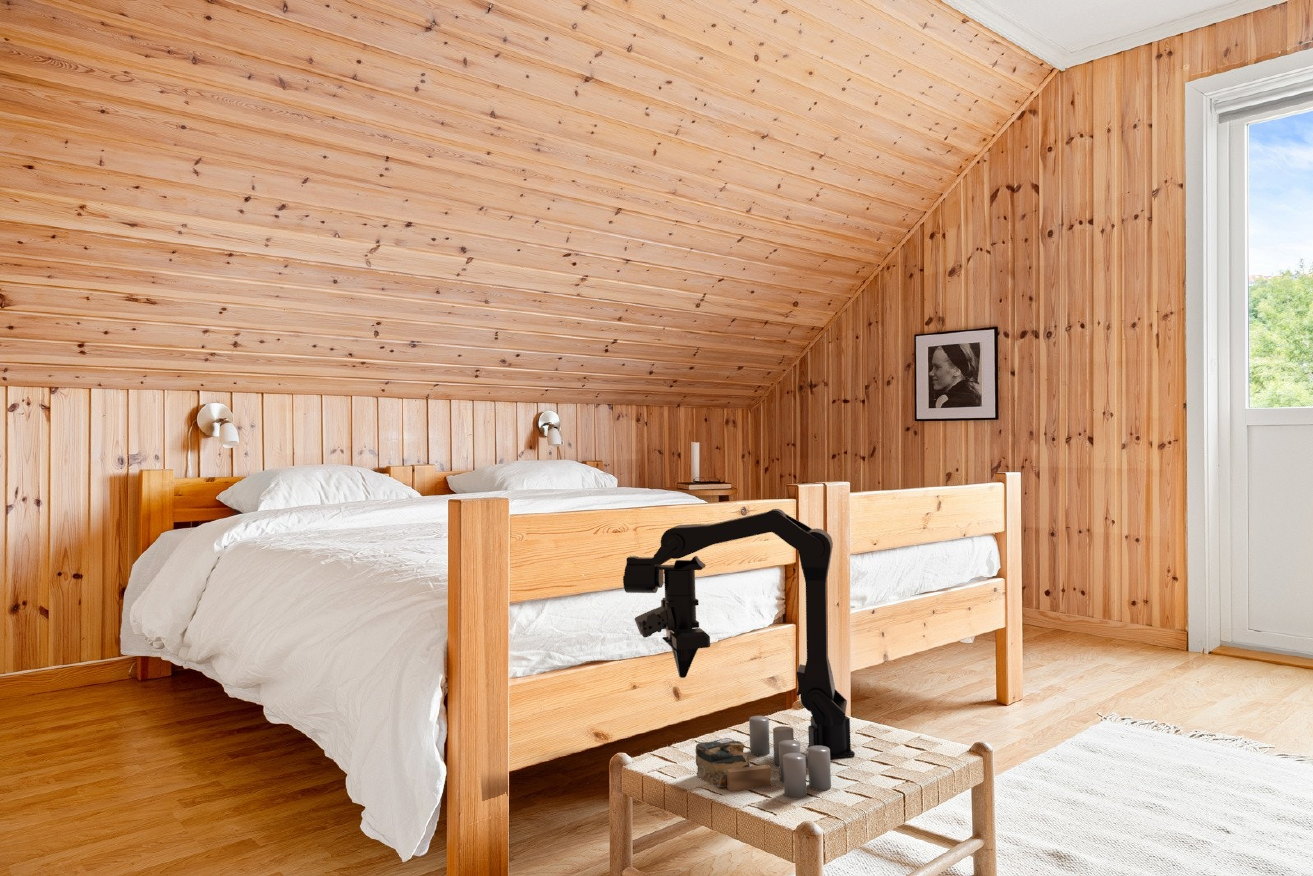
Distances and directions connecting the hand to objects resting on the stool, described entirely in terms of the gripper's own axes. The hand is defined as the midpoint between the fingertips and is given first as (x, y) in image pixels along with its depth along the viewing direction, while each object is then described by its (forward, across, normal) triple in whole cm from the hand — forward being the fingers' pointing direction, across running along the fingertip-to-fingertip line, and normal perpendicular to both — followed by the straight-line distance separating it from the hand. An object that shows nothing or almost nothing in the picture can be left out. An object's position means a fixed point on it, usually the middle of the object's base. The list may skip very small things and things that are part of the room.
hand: (682, 677), depth 167 cm
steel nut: (+13, +16, +19) cm, 28 cm away
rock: (+13, +18, +2) cm, 22 cm away
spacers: (+13, +18, +14) cm, 26 cm away
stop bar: (+12, +23, +5) cm, 27 cm away
